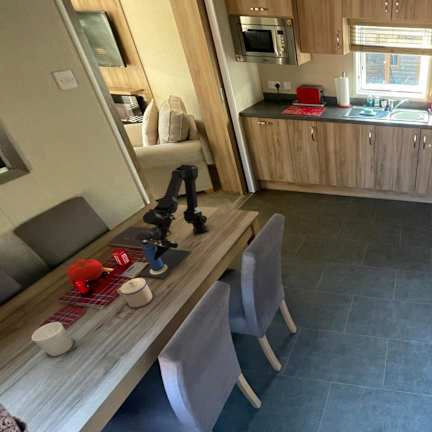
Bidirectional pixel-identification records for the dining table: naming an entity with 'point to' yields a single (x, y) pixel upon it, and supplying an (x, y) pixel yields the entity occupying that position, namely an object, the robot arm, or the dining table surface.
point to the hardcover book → (130, 238)
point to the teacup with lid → (136, 292)
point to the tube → (152, 256)
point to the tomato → (85, 270)
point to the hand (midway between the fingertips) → (150, 258)
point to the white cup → (53, 338)
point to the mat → (166, 263)
